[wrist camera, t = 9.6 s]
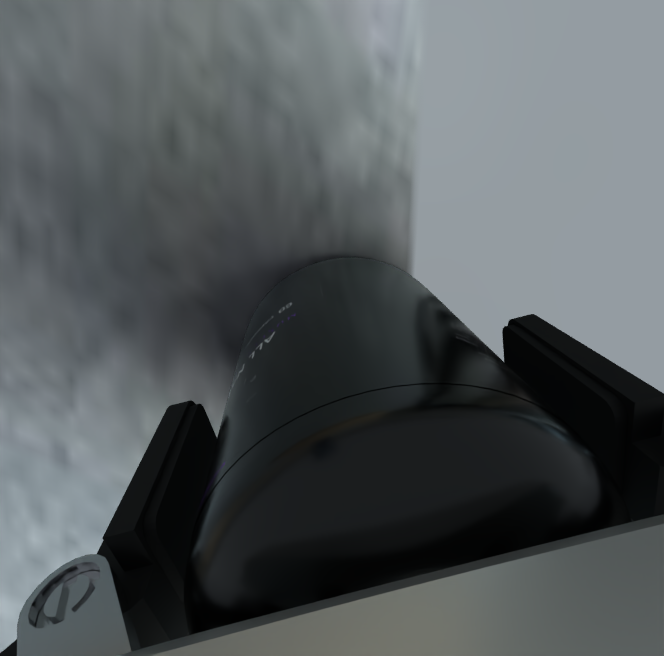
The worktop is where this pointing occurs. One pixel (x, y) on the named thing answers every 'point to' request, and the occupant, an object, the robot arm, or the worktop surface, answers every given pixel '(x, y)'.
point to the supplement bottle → (375, 451)
